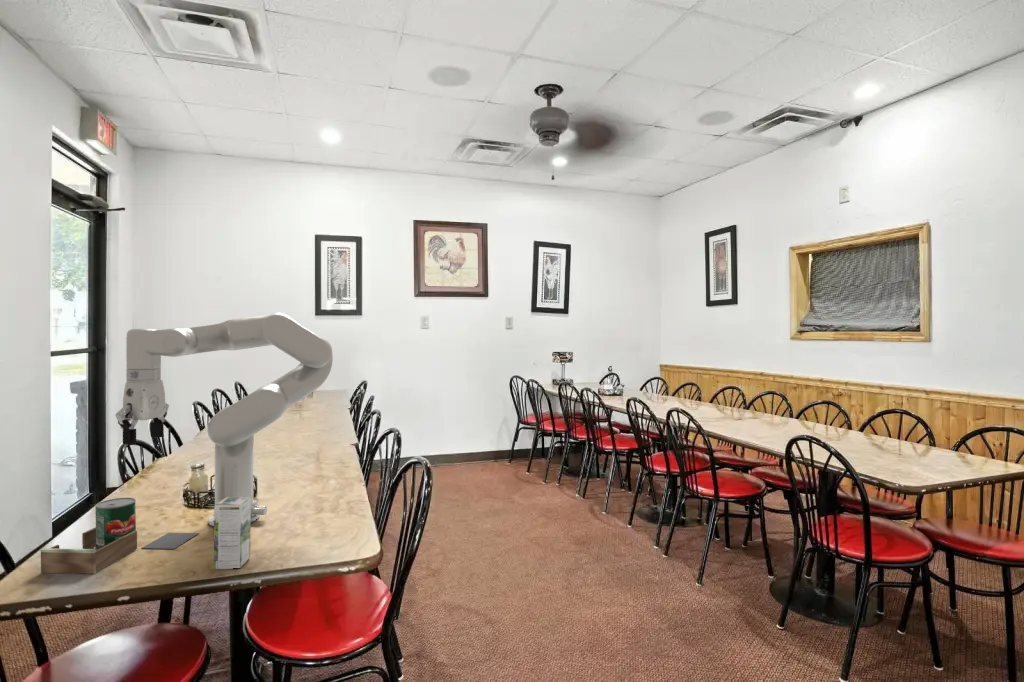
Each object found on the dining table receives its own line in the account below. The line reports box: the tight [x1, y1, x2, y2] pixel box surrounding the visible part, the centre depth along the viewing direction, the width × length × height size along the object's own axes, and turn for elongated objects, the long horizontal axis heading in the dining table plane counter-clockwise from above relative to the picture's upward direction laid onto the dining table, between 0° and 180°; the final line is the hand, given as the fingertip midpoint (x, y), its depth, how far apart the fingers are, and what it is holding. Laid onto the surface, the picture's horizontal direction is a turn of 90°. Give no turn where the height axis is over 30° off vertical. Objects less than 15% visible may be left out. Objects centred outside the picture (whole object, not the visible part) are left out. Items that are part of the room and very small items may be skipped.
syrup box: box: [213, 496, 252, 570], centre depth 123 cm, size 6×6×14 cm
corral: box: [40, 526, 138, 574], centre depth 130 cm, size 12×24×5 cm, turn 178°
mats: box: [141, 532, 200, 550], centre depth 132 cm, size 24×18×1 cm
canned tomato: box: [94, 497, 137, 550], centre depth 132 cm, size 8×8×11 cm
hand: (143, 440), depth 144 cm, fingers open, 9 cm apart
